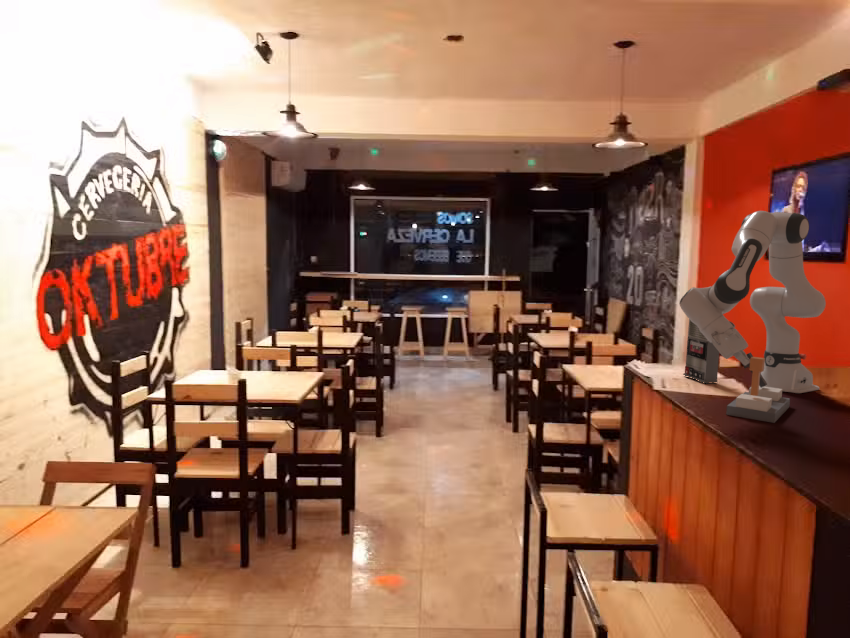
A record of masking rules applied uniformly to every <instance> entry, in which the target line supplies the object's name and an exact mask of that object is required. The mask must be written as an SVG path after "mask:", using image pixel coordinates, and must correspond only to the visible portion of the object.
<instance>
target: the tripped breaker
mask: <svg viewBox="0 0 850 638" xmlns="http://www.w3.org/2000/svg"><path fill="white" fill-rule="evenodd" d="M764 364H765V358H764V357H758V356H753V357H751V358H750V368H748V369H749V371H750V370H751V371H753V373H751V375H752V376H751V386H750V387H751V395H753V396H757V395H758V393H759V382H760V373H761V372H762V371H764ZM751 371H750V372H751Z"/></svg>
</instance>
